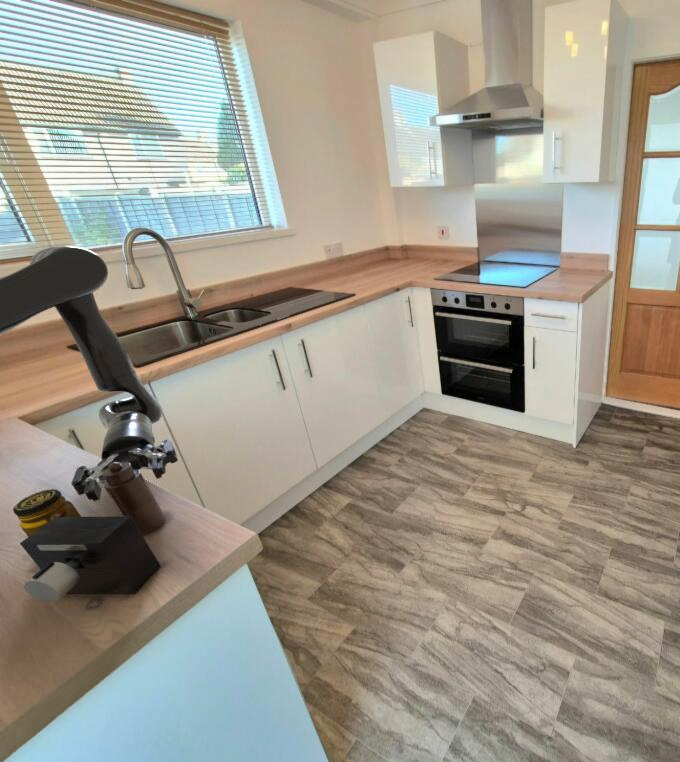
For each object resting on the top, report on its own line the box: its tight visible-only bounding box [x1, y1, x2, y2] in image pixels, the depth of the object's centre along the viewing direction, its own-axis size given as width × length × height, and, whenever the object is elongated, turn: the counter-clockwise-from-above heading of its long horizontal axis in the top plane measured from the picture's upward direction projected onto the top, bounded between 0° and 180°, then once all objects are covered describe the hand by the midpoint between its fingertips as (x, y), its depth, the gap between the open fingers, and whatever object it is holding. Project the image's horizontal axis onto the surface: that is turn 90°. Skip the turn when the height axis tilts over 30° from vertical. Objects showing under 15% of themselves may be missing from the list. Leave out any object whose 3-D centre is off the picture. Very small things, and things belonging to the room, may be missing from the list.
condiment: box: [12, 488, 82, 538], centre depth 69 cm, size 7×8×12 cm
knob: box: [23, 558, 81, 603], centre depth 59 cm, size 5×4×5 cm
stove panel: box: [19, 515, 162, 595], centre depth 63 cm, size 5×12×11 cm, turn 87°
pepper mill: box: [102, 462, 167, 536], centre depth 73 cm, size 5×5×14 cm
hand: (126, 484), depth 73 cm, fingers open, 8 cm apart
